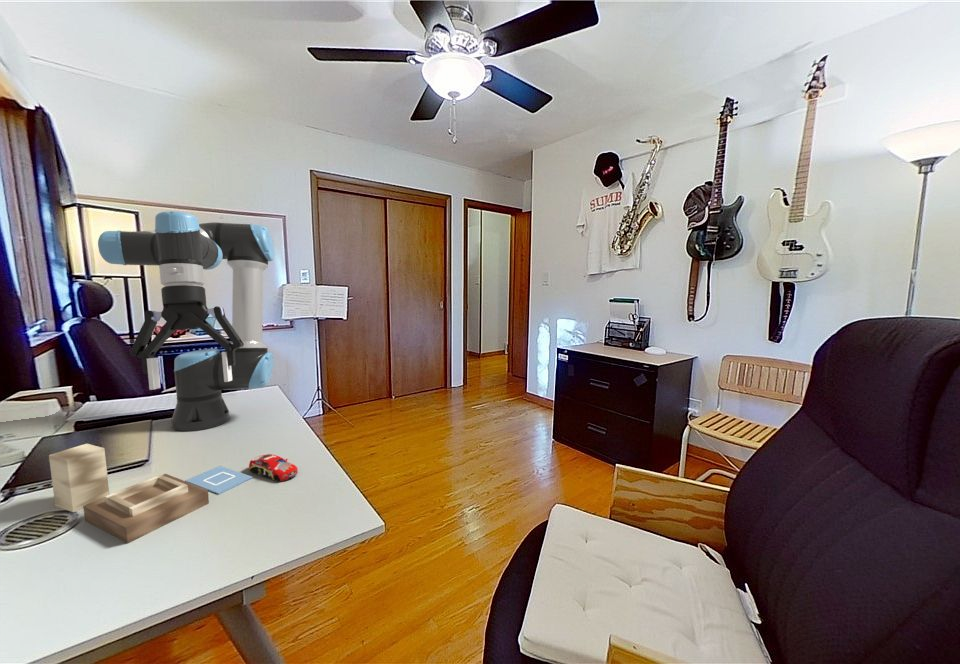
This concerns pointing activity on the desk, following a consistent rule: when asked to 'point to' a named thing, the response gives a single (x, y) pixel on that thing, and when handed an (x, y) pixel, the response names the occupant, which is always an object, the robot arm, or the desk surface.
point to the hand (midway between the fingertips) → (192, 385)
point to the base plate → (145, 506)
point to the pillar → (79, 476)
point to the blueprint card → (219, 479)
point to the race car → (272, 467)
